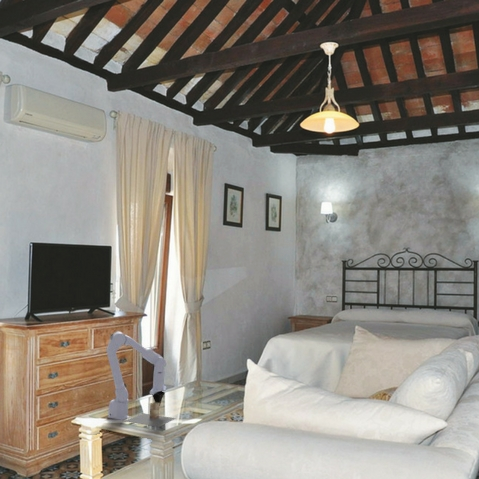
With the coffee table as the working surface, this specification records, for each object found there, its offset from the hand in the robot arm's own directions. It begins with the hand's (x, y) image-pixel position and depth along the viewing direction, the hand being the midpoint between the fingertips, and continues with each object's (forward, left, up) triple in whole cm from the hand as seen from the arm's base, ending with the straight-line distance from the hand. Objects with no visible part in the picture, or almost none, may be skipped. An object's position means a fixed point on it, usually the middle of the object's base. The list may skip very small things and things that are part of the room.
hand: (157, 406), depth 299 cm
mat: (+1, -8, -5) cm, 10 cm away
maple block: (0, -3, -5) cm, 6 cm away
